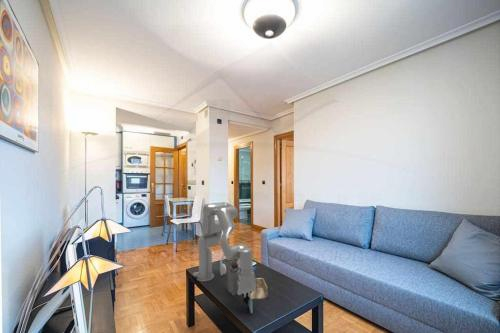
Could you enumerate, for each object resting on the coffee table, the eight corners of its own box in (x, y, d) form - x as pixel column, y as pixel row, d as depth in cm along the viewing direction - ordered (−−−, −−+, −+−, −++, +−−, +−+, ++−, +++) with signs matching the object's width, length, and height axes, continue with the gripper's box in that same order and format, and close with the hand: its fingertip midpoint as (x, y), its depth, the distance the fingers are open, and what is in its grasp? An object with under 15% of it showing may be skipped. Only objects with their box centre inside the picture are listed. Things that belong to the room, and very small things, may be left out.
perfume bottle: (242, 292, 142) (241, 264, 142) (233, 295, 138) (233, 267, 138) (236, 287, 147) (236, 260, 147) (227, 290, 143) (227, 263, 144)
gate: (247, 299, 132) (247, 289, 132) (248, 299, 132) (248, 289, 133) (250, 313, 119) (250, 302, 119) (252, 313, 119) (252, 302, 120)
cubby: (247, 300, 132) (247, 289, 133) (244, 289, 145) (244, 279, 145) (267, 298, 135) (267, 287, 135) (263, 287, 147) (263, 277, 147)
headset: (222, 278, 160) (222, 253, 161) (218, 274, 166) (218, 250, 167) (245, 270, 172) (244, 248, 172) (240, 267, 178) (240, 245, 178)
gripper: (236, 276, 117) (236, 310, 116) (260, 270, 123) (260, 303, 123) (231, 270, 123) (231, 303, 123) (254, 265, 130) (254, 296, 130)
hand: (246, 302), depth 123 cm, fingers closed
